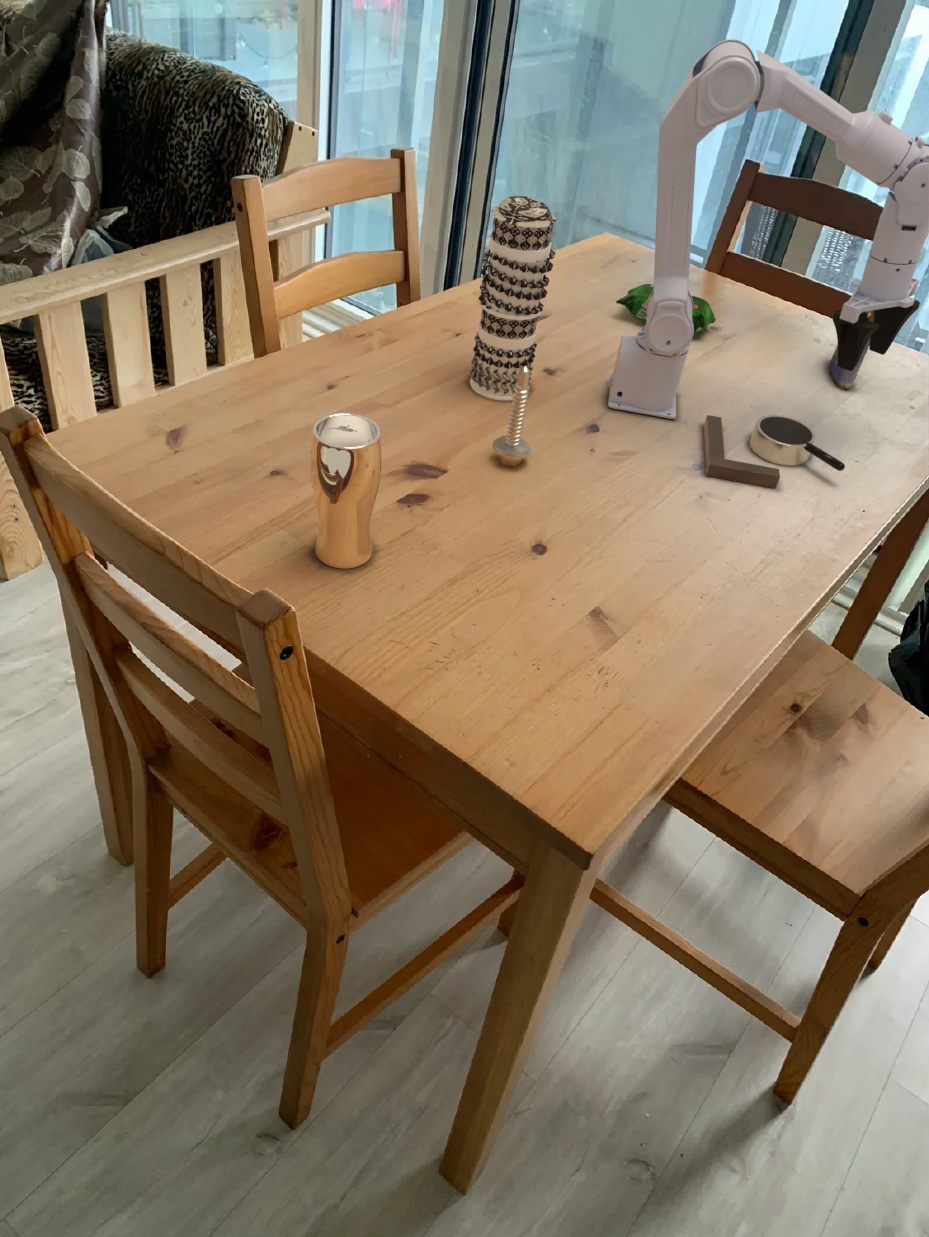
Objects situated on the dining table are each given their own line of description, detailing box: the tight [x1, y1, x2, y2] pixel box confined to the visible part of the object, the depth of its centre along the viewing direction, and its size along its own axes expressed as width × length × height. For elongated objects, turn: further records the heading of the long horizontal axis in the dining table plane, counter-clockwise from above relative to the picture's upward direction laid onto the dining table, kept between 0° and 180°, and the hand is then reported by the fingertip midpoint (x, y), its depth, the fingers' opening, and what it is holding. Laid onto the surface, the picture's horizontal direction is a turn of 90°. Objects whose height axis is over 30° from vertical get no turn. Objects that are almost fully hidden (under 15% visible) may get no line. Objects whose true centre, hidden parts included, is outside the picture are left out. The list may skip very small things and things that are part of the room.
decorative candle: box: [469, 195, 557, 401], centre depth 123 cm, size 9×9×25 cm
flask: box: [827, 311, 872, 390], centre depth 142 cm, size 9×3×11 cm, turn 172°
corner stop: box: [703, 414, 781, 489], centre depth 123 cm, size 9×13×2 cm
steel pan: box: [749, 414, 846, 472], centre depth 124 cm, size 14×8×3 cm, turn 35°
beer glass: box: [310, 412, 382, 570], centre depth 95 cm, size 7×7×15 cm
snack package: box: [615, 283, 717, 336], centre depth 151 cm, size 7×16×5 cm, turn 64°
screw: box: [492, 366, 532, 467], centre depth 113 cm, size 13×5×5 cm
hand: (861, 359), depth 123 cm, fingers open, 7 cm apart
